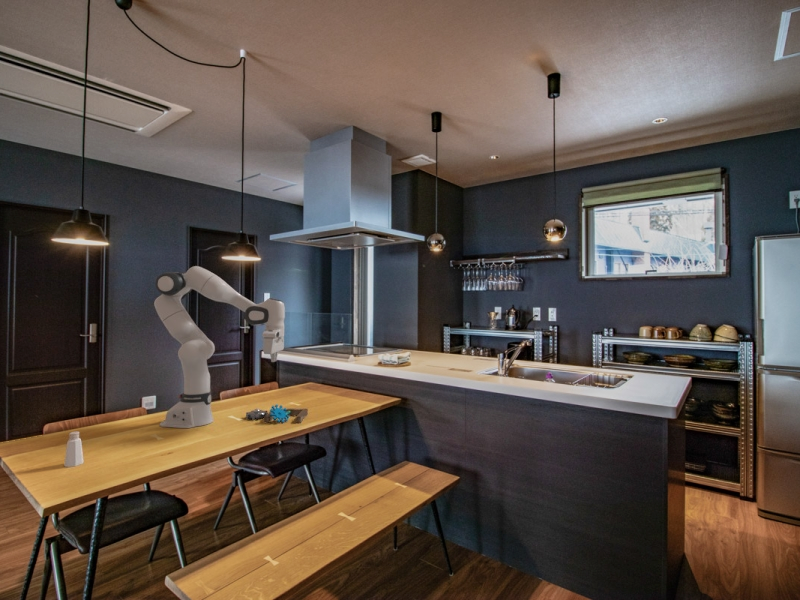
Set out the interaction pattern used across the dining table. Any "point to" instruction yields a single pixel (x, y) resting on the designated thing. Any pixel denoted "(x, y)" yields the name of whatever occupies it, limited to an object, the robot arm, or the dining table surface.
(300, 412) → the brown bracket
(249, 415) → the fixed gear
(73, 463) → the pepper shaker
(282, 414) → the gear
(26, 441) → the dining table surface
